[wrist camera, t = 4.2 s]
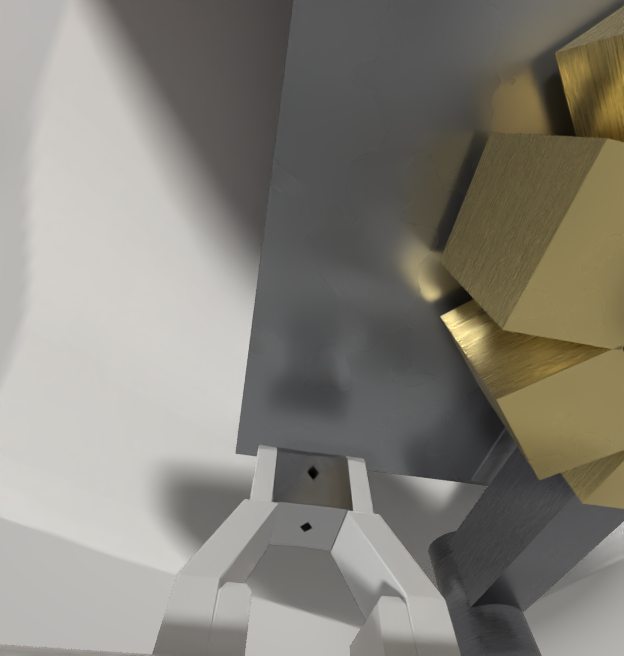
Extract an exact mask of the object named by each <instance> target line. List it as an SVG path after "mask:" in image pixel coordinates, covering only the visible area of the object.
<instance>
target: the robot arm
mask: <svg viewBox="0 0 624 656" xmlns="http://www.w3.org/2000/svg"><path fill="white" fill-rule="evenodd" d="M269 544H271V545H285V546H299V547H307V548H314V549H322V550H329V551H331V554H332V556H333V558H334V560H335V562H336V564H337V566H338V568H339V570H340V572H341V573H342V575H343V577H344V579H345V581H346V583H347V585H348V587H349V589H350V591H351V593H352V595H353V597H354V599H355V601H356V603H357V605H358V607H359V609H360V611H361V613H362V615H363V617H364V618H365V620H366V622H365V623H364V625H363V626H362V628H361V630H360V631H359V633H358V634H357V636H356V638H355V639H354V641H353V642H352V644H351V645H350V656H461V654H460V650H459V647H458V643H457V640H456V636H455V633H454V629H453V626H452V622H451V619H450V615H449V612H448V608H447V605H446V601H445V599H444V598H443V596H442V595H441V594H440V593H439V591H438V590H437V589H436V587H435V586H434V585H433V583H432V582H431V581H430V580H429V578H428V577H427V576H426V574H425V573H424V572H423V570H422V569H421V568H420V566H419V565H418V564H417V563H416V561H415V560H414V559H413V557H412V556H411V555H410V553H409V552H408V551H407V550H406V548H405V547H404V546H403V544H402V543H401V542H400V540H399V539H398V538H397V536H396V535H395V534H394V533H393V531H392V530H391V529H390V527H389V526H388V525H387V523H386V522H385V521H384V519H383V518H382V517H381V516H380V514H374V509H373V504H372V498H371V492H370V486H369V480H368V474H367V468H366V462H365V460H364V459H363V458H356V457H348V456H346V457H345V456H343V455H334V454H326V453H317V452H305V451H299V450H293V449H286V448H280V447H278V448H277V447H272V446H266V445H259V448H258V453H257V459H256V464H255V470H254V476H253V482H252V488H251V494H250V499H244V500H243V501H242V502H241V503H240V505H239V506H238V507H237V508H236V509H235V510H234V511H233V512H232V513H231V515H230V516H229V517H228V518H227V519H226V520H225V521H224V522H223V523H222V525H221V526H220V527H219V528H218V529H217V530H216V531H215V532H214V533H213V535H212V536H211V537H210V538H209V539H208V540H207V541H206V542H205V543H204V545H203V546H202V547H201V548H200V549H199V550H198V551H197V552H196V553H195V555H194V556H193V557H192V558H191V559H190V560H189V561H188V562H187V563H186V565H185V566H184V567H183V568H182V569H181V570H180V571H179V572H178V573H177V575H176V578H175V581H174V584H173V587H172V591H171V594H170V597H169V601H168V604H167V607H166V610H165V614H164V617H163V620H162V624H161V627H160V631H159V634H158V637H157V641H156V644H155V647H154V650H153V654H137V653H136V654H135V653H122V652H107V651H92V650H77V649H62V648H47V647H32V646H16V645H2V644H0V656H245V648H246V639H247V630H248V622H249V613H250V604H251V595H252V590H251V589H250V588H249V586H248V585H247V584H246V583H244V582H245V581H246V579H247V578H248V576H249V575H250V573H251V572H252V570H253V569H254V567H255V566H256V564H257V563H258V561H259V560H260V558H261V557H262V555H263V554H264V552H265V551H266V549H267V548H268V545H269Z"/></svg>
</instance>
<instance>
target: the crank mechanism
mask: <svg viewBox="0 0 624 656" xmlns="http://www.w3.org/2000/svg"><path fill="white" fill-rule="evenodd" d="M622 6H624V0H293V6H292V14H291V22H290V30H289V38H288V46H287V53H286V61H285V69H284V77H283V85H282V93H281V101H280V108H279V116H278V124H277V132H276V140H275V148H274V156H273V163H272V171H271V179H270V187H269V195H268V203H267V211H266V218H265V226H264V234H263V242H262V250H261V258H260V266H259V274H258V281H257V289H256V297H255V305H254V313H253V321H252V329H251V336H250V344H249V352H248V360H247V368H246V376H245V384H244V391H243V399H242V407H241V415H240V423H239V431H238V439H237V446H236V454H243V455H251V456H257V453H258V448H259V445H266V446H272V447H277V448H278V447H280V448H286V449H293V450H299V451H305V452H317V453H326V454H334V455H343V456H345V457H346V456H348V457H356V458H363V459H364V460H365V462H366V468H367V470H369V471H377V472H384V473H392V474H400V475H408V476H416V477H424V478H432V479H439V480H447V481H455V482H463V483H471V484H479V485H487V486H489V485H490V483H491V482H492V481H493V479H494V478H495V476H496V475H497V474H498V472H499V471H500V469H501V468H502V467H503V465H504V464H505V462H506V461H507V460H508V458H509V457H510V455H511V454H512V452H513V451H514V450H515V448H516V447H517V445H516V443H515V441H514V440H513V438H512V437H511V435H510V434H509V432H508V431H507V429H506V427H505V426H504V424H503V423H502V421H501V420H500V418H499V417H498V415H497V413H496V412H495V410H494V409H493V407H492V406H491V404H490V403H489V401H488V399H487V398H486V396H485V395H484V393H483V392H482V390H481V388H480V387H479V385H478V384H477V382H476V380H475V378H474V376H473V375H472V373H471V371H470V369H469V367H468V366H467V364H466V362H465V360H464V358H463V356H462V355H461V353H460V351H459V349H458V347H457V346H456V344H455V342H454V340H453V338H452V337H451V335H450V333H449V331H448V329H447V327H446V326H445V324H444V322H443V320H442V318H441V317H440V316H442V315H444V314H446V313H448V312H450V311H452V310H454V309H455V308H457V307H459V306H461V305H463V304H465V303H467V302H469V301H471V300H472V299H474V298H473V297H472V296H471V295H470V294H469V293H468V292H467V291H466V290H465V289H464V288H463V287H462V286H461V284H460V283H459V282H458V281H457V280H456V279H455V278H454V277H453V276H452V275H451V274H450V273H449V272H448V270H447V269H446V268H445V267H444V266H443V265H442V264H441V263H440V259H441V257H442V254H443V252H444V249H445V247H446V244H447V242H448V239H449V237H450V234H451V232H452V229H453V227H454V224H455V222H456V219H457V217H458V214H459V212H460V209H461V207H462V204H463V202H464V199H465V196H466V194H467V191H468V189H469V186H470V184H471V181H472V179H473V176H474V174H475V171H476V169H477V166H478V164H479V161H480V159H481V156H482V154H483V151H484V149H485V146H486V144H487V141H488V139H489V136H490V134H491V132H495V133H514V134H533V135H552V136H571V137H576V135H575V131H574V127H573V123H572V119H571V115H570V111H569V108H568V104H567V100H566V96H565V92H564V88H563V84H562V80H561V76H560V72H559V68H558V64H557V60H556V56H555V52H557V51H558V50H560V49H561V48H563V47H564V46H566V45H567V44H569V43H570V42H571V41H573V40H574V39H576V38H577V37H579V36H580V35H582V34H583V33H585V32H586V31H587V30H589V29H590V28H592V27H593V26H595V25H596V24H598V23H599V22H601V21H602V20H604V19H605V18H606V17H608V16H609V15H611V14H612V13H614V12H615V11H617V10H618V9H620V8H621V7H622ZM623 351H624V347H623Z"/></svg>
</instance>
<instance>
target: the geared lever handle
mask: <svg viewBox="0 0 624 656" xmlns="http://www.w3.org/2000/svg"><path fill="white" fill-rule="evenodd" d="M555 56H556V60H557V64H558V68H559V72H560V76H561V80H562V84H563V88H564V92H565V96H566V100H567V104H568V108H569V111H570V115H571V119H572V123H573V127H574V131H575V135H576V137H571V136H552V135H533V134H514V133H495V132H491V134H490V136H489V139H488V141H487V144H486V146H485V149H484V151H483V154H482V156H481V159H480V161H479V164H478V166H477V169H476V171H475V174H474V176H473V179H472V181H471V184H470V186H469V189H468V191H467V194H466V196H465V199H464V202H463V204H462V207H461V209H460V212H459V214H458V217H457V219H456V222H455V224H454V227H453V229H452V232H451V234H450V237H449V239H448V242H447V244H446V247H445V249H444V252H443V254H442V257H441V259H440V263H441V264H442V265H443V266H444V267H445V268H446V269H447V270H448V272H449V273H450V274H451V275H452V276H453V277H454V278H455V279H456V280H457V281H458V282H459V283H460V284H461V286H462V287H463V288H464V289H465V290H466V291H467V292H468V293H469V294H470V295H471V296H472V297H473V298H474V299H472V300H471V301H469V302H467V303H465V304H463V305H461V306H459V307H457V308H455V309H454V310H452V311H450V312H448V313H446V314H444V315H442V316H440V317H441V318H442V320H443V322H444V324H445V326H446V327H447V329H448V331H449V333H450V335H451V337H452V338H453V340H454V342H455V344H456V346H457V347H458V349H459V351H460V353H461V355H462V356H463V358H464V360H465V362H466V364H467V366H468V367H469V369H470V371H471V373H472V375H473V376H474V378H475V380H476V382H477V384H478V385H479V387H480V388H481V390H482V392H483V393H484V395H485V396H486V398H487V399H488V401H489V403H490V404H491V406H492V407H493V409H494V410H495V412H496V413H497V415H498V417H499V418H500V420H501V421H502V423H503V424H504V426H505V427H506V429H507V431H508V432H509V434H510V435H511V437H512V438H513V440H514V441H515V443H516V445H517V447H516V448H515V450H514V451H513V452H512V454H511V455H510V457H509V458H508V460H507V461H506V462H505V464H504V465H503V467H502V468H501V469H500V471H499V472H498V474H497V475H496V476H495V478H494V479H493V481H492V482H491V483H490V485H489V486H488V488H487V489H486V491H485V492H484V493H483V495H482V496H481V498H480V499H479V500H478V502H477V503H476V505H475V506H474V507H473V509H472V510H471V512H470V513H469V514H468V516H467V517H466V519H465V520H464V521H463V523H462V524H461V526H460V527H459V529H458V530H457V531H455V532H451V533H448V534H445V535H443V536H441V537H439V538H437V539H436V540H435V541H433V542H432V544H431V545H430V547H429V556H430V559H431V563H432V567H433V570H434V574H435V577H436V581H437V585H438V588H439V592H440V594H441V595H442V596H443V598H444V599H445V601H446V605H447V608H448V612H449V615H450V619H451V622H452V626H453V629H454V633H455V636H456V640H457V643H458V647H459V650H460V654H461V656H541V653H540V651H539V649H538V647H537V645H536V642H535V640H534V637H533V635H532V633H531V630H530V628H529V626H528V624H527V621H526V619H525V617H524V614H523V612H524V611H525V610H526V609H527V608H528V607H529V606H531V605H532V604H533V603H534V602H535V601H536V600H537V599H538V598H539V597H540V596H542V595H543V594H544V593H545V592H546V591H547V590H548V589H549V588H550V587H551V586H553V585H554V584H555V583H556V582H557V581H558V580H559V579H560V578H561V577H563V576H564V575H565V574H566V573H567V572H568V571H569V570H570V569H571V568H572V567H574V566H575V565H576V564H577V563H578V562H579V561H580V560H581V559H582V558H583V557H585V556H586V555H587V554H588V553H589V552H590V551H591V550H592V549H593V548H595V547H596V546H597V545H598V544H599V543H600V542H601V541H602V540H603V539H604V538H606V537H607V536H608V535H609V534H610V533H611V532H612V531H613V530H614V529H615V528H617V527H618V526H619V525H620V524H621V523H622V522H623V521H624V351H623V347H624V6H622V7H621V8H620V9H618V10H617V11H615V12H614V13H612V14H611V15H609V16H608V17H606V18H605V19H604V20H602V21H601V22H599V23H598V24H596V25H595V26H593V27H592V28H590V29H589V30H587V31H586V32H585V33H583V34H582V35H580V36H579V37H577V38H576V39H574V40H573V41H571V42H570V43H569V44H567V45H566V46H564V47H563V48H561V49H560V50H558V51H557V52H555Z"/></svg>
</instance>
